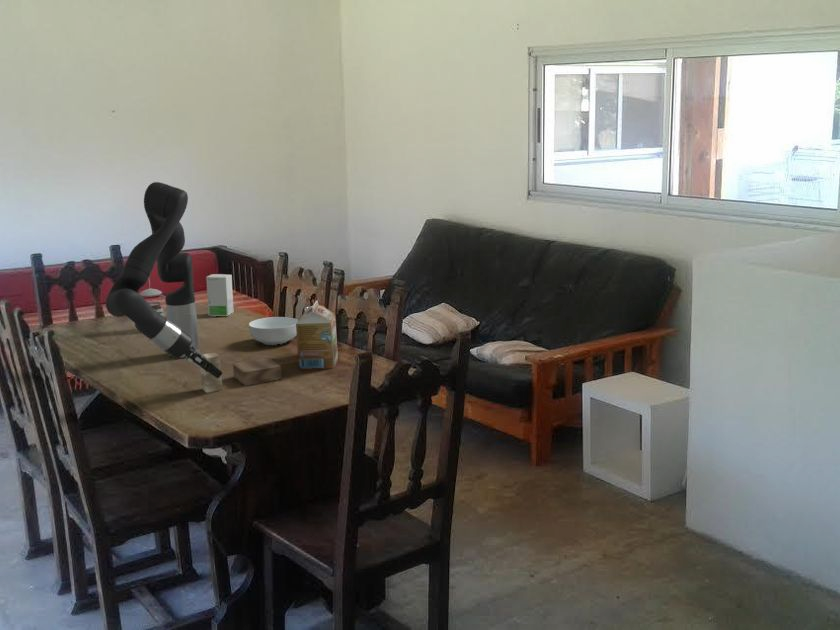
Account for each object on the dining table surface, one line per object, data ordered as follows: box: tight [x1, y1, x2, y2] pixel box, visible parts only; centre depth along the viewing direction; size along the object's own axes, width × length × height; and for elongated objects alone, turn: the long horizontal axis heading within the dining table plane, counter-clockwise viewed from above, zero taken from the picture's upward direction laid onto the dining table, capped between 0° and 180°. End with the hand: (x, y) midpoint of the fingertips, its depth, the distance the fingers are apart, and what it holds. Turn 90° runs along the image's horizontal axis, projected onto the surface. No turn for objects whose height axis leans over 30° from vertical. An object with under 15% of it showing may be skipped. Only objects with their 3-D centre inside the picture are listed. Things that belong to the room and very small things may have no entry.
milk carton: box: [296, 299, 339, 370], centre depth 286 cm, size 11×11×19 cm
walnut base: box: [232, 357, 282, 387], centre depth 275 cm, size 11×11×4 cm
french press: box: [138, 279, 167, 318], centre depth 340 cm, size 10×12×25 cm
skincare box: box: [205, 273, 235, 317], centre depth 361 cm, size 8×7×16 cm
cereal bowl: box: [248, 316, 299, 346], centre depth 316 cm, size 17×17×7 cm
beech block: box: [200, 352, 224, 394], centre depth 265 cm, size 5×5×10 cm
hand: (217, 373), depth 266 cm, fingers closed on beech block, 4 cm apart
